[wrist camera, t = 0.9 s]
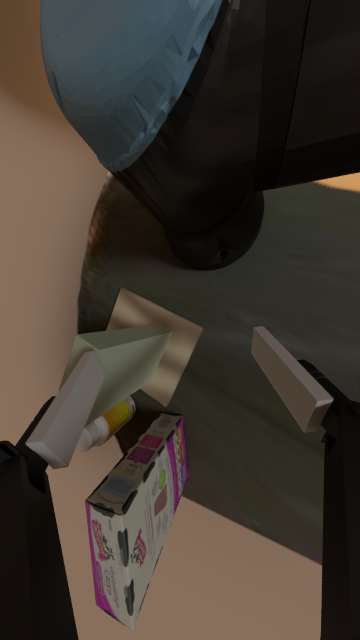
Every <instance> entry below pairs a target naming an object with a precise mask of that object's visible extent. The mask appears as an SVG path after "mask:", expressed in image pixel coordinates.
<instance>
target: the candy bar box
mask: <svg viewBox="0 0 360 640" xmlns="http://www.w3.org/2000/svg"><path fill="white" fill-rule="evenodd" d="M187 478H188V464H187V454H186V444H185V433H184V422H183V416H181V415H173V414H167V413H160V414H159V415H158V416H157V418H156V419H155V420H154V421H153V422H152V424H151V425H150V426H149V427H148V428H147V429H146V431H145V432H144V433H143V434H142V435H141V436H140V437H139V439H138V440H137V441H136V442H135V443H134V445H133V446H132V447H131V448H130V449H129V450H128V451H127V453H126V454H125V455H124V456H123V457H122V458H121V460H120V461H119V462H118V463H117V464H116V466H115V467H114V468H113V469H112V470H111V471H110V472H109V474H108V475H107V476H106V477H105V478H104V479H103V481H102V482H101V483H100V484H99V486H98V487H97V488H96V489H95V490H94V491H93V493H92V494H91V495H90V496H89V497H88V498H87V499H86V500H85V505H86V513H87V523H88V532H89V542H90V551H91V560H92V570H93V579H94V589H95V599H96V605H97V606H98V607H100V608H101V609H102V610H103V611H105V612H106V613H107V614H109V615H110V616H112V617H113V618H114V619H116V620H117V621H119V622H121V623H122V624H123V625H125V626H126V627H128V628H129V629H130V630H133V629H134V626H135V623H136V620H137V617H138V614H139V611H140V609H141V606H142V603H143V600H144V597H145V594H146V591H147V589H148V586H149V583H150V581H151V578H152V575H153V572H154V570H155V567H156V564H157V562H158V559H159V556H160V553H161V550H162V548H163V544H164V541H165V539H166V536H167V534H168V531H169V528H170V525H171V522H172V520H173V517H174V514H175V511H176V508H177V506H178V503H179V500H180V497H181V495H182V492H183V489H184V486H185V483H186V481H187Z"/></svg>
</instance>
